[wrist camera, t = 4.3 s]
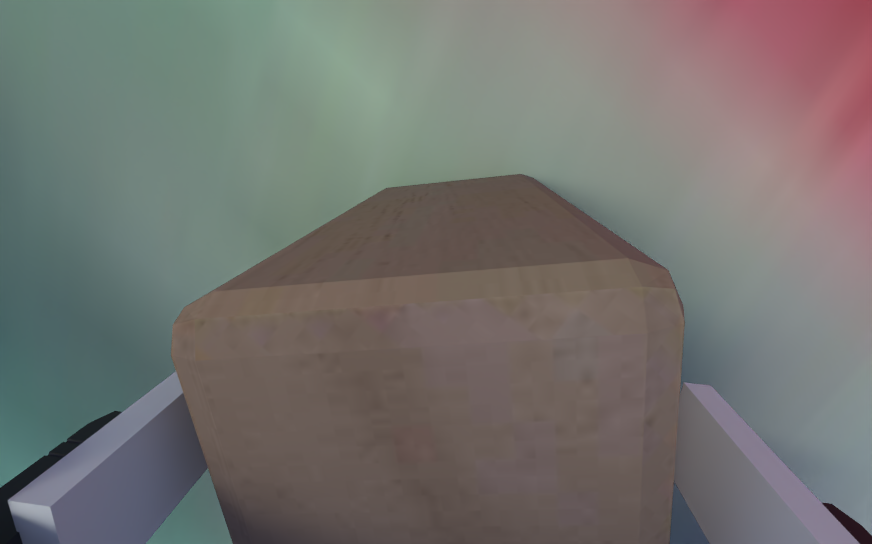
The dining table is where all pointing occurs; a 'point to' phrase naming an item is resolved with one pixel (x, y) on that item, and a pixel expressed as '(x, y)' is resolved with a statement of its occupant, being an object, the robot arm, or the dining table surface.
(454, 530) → the block
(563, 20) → the dining table surface
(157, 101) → the dining table surface
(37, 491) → the robot arm
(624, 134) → the dining table surface
